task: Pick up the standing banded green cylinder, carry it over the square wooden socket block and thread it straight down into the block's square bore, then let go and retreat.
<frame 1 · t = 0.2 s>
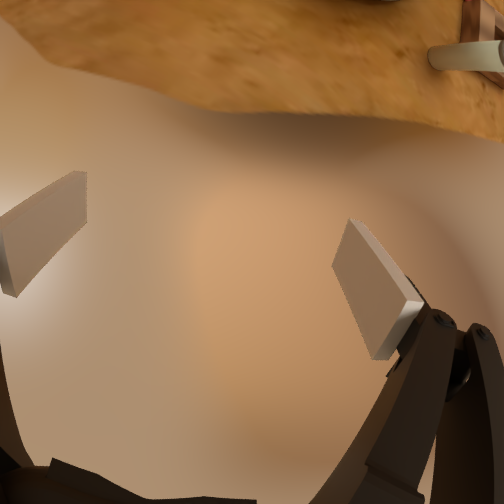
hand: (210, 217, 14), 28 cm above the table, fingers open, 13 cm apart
square wooden socket block: (485, 45, 29), on the table
banded green cylinder: (437, 58, 32), on the table
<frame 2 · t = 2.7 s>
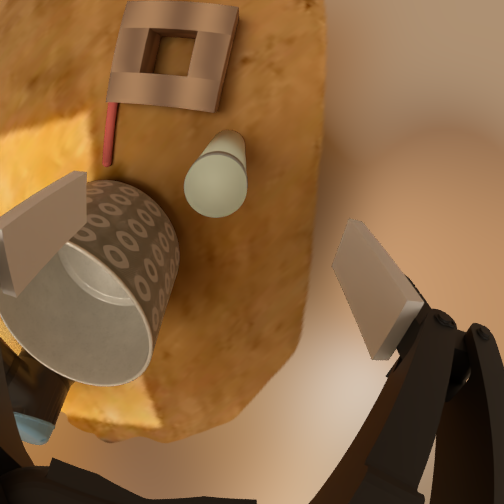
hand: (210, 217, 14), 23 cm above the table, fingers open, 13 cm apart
square wooden socket block: (177, 57, 29), on the table
red rod: (112, 123, 32), on the table
planter: (119, 238, 40), on the table
banded green cylinder: (228, 146, 35), on the table
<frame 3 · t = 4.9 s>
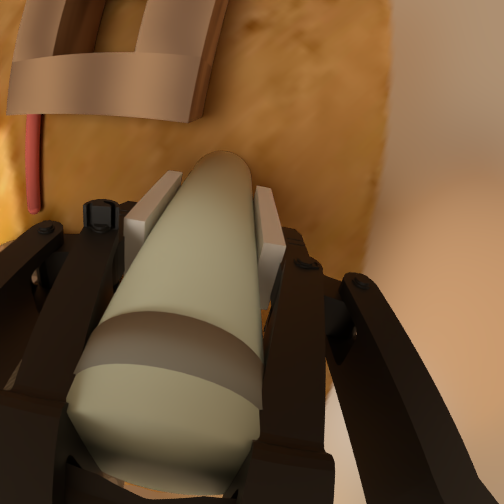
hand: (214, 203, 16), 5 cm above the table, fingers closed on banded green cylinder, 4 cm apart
square wooden socket block: (132, 25, 14), on the table
red rod: (36, 144, 18), on the table
planter: (70, 310, 26), on the table
banded green cylinder: (221, 179, 20), on the table, touching gripper
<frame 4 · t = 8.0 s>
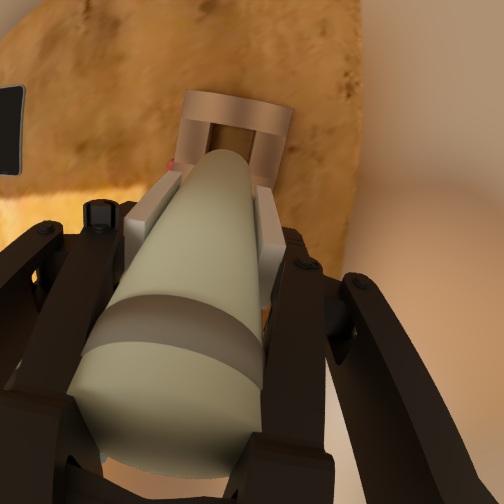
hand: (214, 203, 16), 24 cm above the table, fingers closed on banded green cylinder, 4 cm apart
square wooden socket block: (231, 142, 37), on the table
red rod: (169, 198, 40), on the table
smartphone: (9, 130, 34), on the table
banded green cylinder: (222, 177, 20), point 19 cm above the table, touching gripper
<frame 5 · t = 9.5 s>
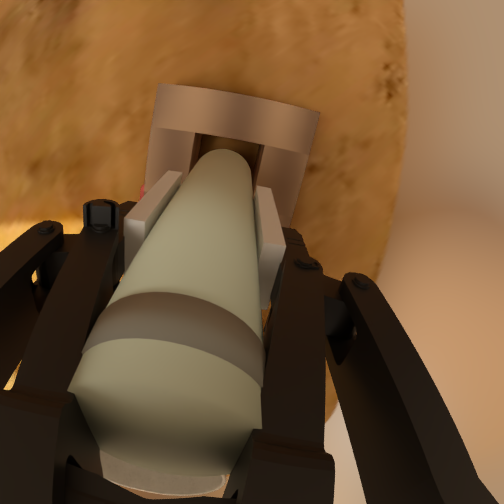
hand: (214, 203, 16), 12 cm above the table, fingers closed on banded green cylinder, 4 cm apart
square wooden socket block: (227, 158, 27), on the table
planter: (159, 343, 38), on the table
banded green cylinder: (222, 177, 20), point 7 cm above the table, touching gripper
when the fingers open (7 cm above the table, at t = 10.9 s): banded green cylinder stays where it is, resting in square wooden socket block.
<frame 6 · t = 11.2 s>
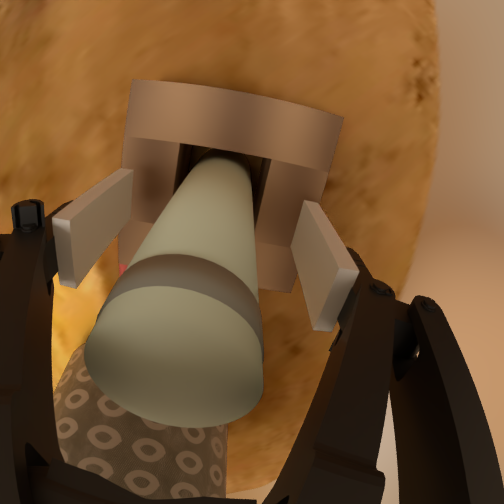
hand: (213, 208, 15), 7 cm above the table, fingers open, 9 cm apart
square wooden socket block: (223, 172, 22), on the table
planter: (150, 375, 33), on the table
banded green cylinder: (223, 172, 22), resting in square wooden socket block
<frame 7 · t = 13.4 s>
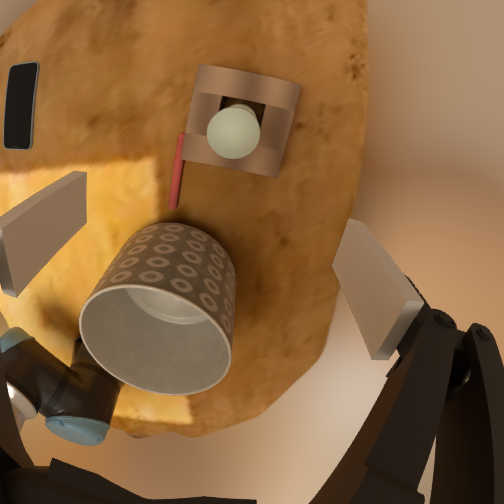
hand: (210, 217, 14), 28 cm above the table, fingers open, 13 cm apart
square wooden socket block: (240, 117, 37), on the table
red rod: (178, 171, 41), on the table
smartphone: (22, 105, 34), on the table
planter: (179, 267, 49), on the table
banded green cylinder: (240, 117, 37), resting in square wooden socket block
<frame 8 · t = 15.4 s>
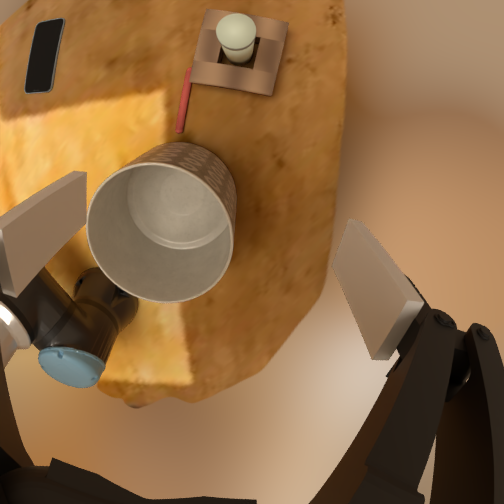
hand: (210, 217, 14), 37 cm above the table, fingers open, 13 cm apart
square wooden socket block: (239, 54, 40), on the table
red rod: (185, 100, 43), on the table
smartphone: (45, 55, 37), on the table
planter: (182, 193, 51), on the table
banded green cylinder: (239, 54, 40), resting in square wooden socket block
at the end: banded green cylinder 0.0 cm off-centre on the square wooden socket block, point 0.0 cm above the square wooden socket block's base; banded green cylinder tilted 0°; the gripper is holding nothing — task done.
